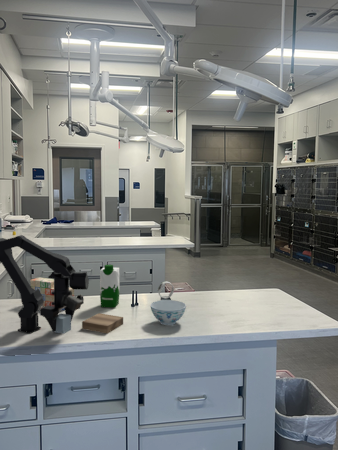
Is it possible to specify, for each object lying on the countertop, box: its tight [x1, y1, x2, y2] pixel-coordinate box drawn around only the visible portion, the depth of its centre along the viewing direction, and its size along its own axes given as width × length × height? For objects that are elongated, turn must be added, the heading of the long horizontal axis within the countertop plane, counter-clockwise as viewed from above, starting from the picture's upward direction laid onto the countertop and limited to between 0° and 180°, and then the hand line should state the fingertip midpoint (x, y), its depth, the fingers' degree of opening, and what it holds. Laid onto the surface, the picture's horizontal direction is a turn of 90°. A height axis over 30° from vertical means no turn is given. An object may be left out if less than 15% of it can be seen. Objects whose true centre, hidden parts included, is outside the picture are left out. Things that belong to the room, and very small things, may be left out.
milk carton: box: [99, 264, 120, 309], centre depth 193 cm, size 9×9×20 cm
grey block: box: [52, 313, 72, 335], centre depth 159 cm, size 5×5×6 cm
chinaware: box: [149, 299, 187, 326], centre depth 170 cm, size 15×15×8 cm
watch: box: [156, 281, 175, 300], centre depth 197 cm, size 6×8×11 cm
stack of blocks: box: [29, 277, 75, 311], centre depth 192 cm, size 21×6×12 cm, turn 65°
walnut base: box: [81, 312, 124, 334], centre depth 165 cm, size 12×12×3 cm
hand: (61, 327), depth 159 cm, fingers open, 9 cm apart
